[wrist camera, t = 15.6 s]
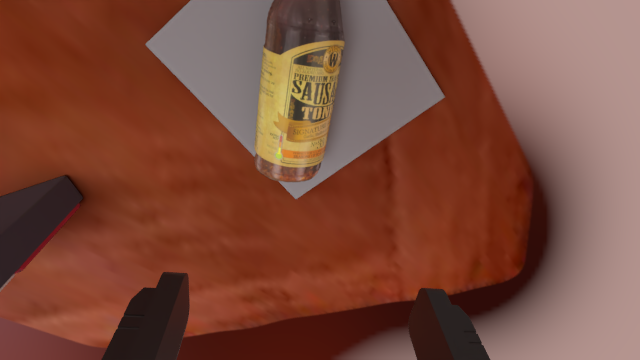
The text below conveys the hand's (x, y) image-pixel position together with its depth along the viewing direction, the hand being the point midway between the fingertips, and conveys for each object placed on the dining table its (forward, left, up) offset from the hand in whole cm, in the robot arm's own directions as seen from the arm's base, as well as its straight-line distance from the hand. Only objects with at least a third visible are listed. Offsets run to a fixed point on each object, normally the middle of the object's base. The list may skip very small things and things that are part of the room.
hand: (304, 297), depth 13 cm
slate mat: (+1, +1, -25) cm, 25 cm away
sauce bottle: (-5, -4, -21) cm, 22 cm away
